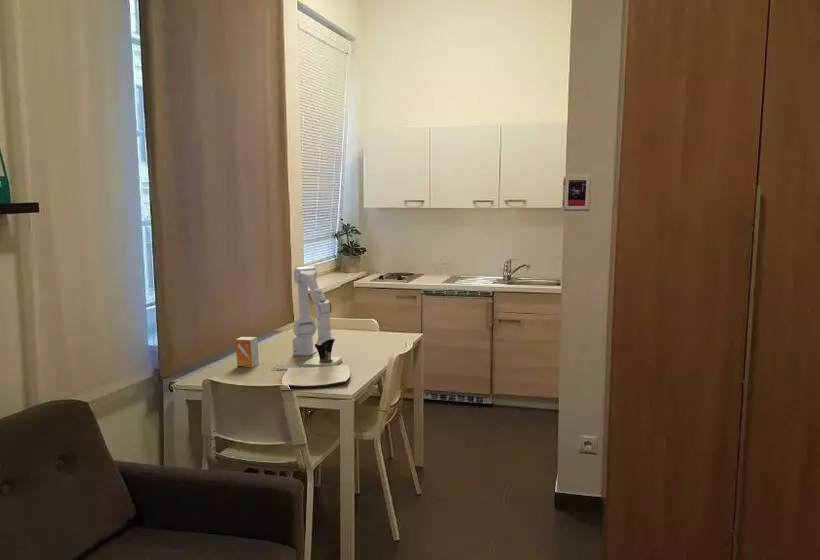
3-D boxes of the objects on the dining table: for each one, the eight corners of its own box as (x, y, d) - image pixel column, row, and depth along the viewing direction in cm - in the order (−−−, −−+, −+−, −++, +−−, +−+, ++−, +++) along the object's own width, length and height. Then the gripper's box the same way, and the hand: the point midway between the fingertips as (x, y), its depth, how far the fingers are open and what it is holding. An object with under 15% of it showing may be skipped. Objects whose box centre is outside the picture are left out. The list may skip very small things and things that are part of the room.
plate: (286, 372, 303) (286, 367, 302) (350, 369, 304) (350, 363, 304) (278, 391, 274) (278, 385, 274) (349, 388, 276) (349, 381, 276)
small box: (236, 366, 315) (234, 339, 313) (244, 363, 321) (242, 336, 319) (252, 367, 312) (250, 339, 310) (259, 364, 318) (257, 336, 316)
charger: (320, 366, 310) (319, 352, 309) (323, 364, 314) (322, 349, 313) (328, 366, 309) (327, 352, 308) (331, 364, 313) (330, 350, 312)
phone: (270, 371, 307) (270, 369, 307) (277, 367, 314) (277, 365, 313) (297, 372, 304) (297, 369, 303) (303, 368, 310) (303, 365, 310)
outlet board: (302, 368, 308) (302, 364, 308) (314, 360, 321) (313, 356, 321) (331, 369, 304) (331, 364, 304) (342, 361, 318) (342, 357, 318)
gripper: (326, 331, 301) (328, 361, 303) (337, 324, 315) (339, 353, 317) (311, 331, 303) (313, 360, 305) (323, 324, 317) (324, 352, 319)
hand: (325, 356), depth 311 cm, fingers open, 7 cm apart
